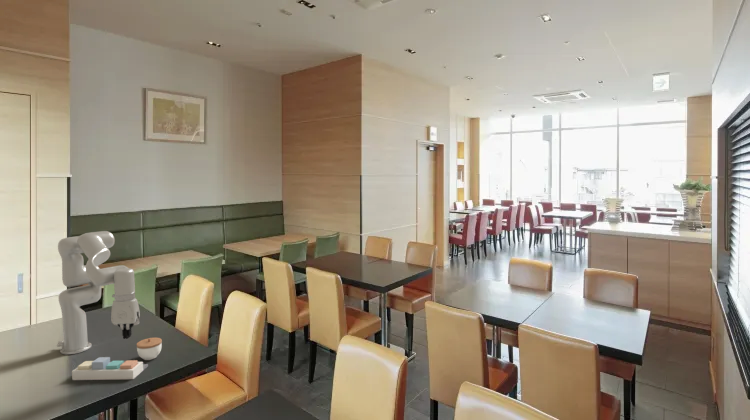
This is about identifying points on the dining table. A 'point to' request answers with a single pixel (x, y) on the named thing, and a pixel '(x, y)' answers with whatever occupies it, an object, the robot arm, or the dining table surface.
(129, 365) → the key
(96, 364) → the key
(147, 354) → the lidded jar
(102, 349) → the dining table surface
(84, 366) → the key
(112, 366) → the key
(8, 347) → the dining table surface
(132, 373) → the keypad
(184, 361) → the dining table surface
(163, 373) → the dining table surface
